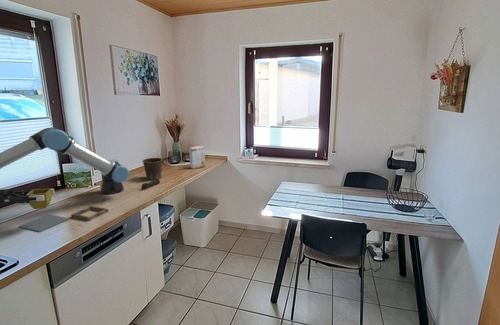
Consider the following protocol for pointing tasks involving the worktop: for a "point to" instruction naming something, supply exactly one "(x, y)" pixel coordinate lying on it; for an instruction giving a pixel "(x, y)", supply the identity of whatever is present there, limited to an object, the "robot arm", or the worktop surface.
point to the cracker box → (197, 157)
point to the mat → (44, 223)
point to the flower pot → (40, 204)
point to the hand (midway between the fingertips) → (49, 194)
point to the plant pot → (153, 168)
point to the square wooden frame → (78, 216)
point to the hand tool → (150, 184)
